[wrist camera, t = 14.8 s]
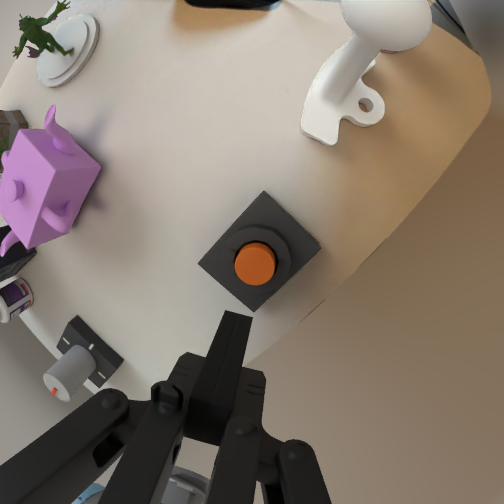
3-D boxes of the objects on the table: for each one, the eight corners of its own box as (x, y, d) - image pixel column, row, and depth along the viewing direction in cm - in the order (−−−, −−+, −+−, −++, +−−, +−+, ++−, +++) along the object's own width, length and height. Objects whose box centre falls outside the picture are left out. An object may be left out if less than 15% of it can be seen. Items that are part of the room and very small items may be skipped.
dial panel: (125, 358, 38) (117, 368, 35) (104, 381, 40) (97, 390, 38) (78, 312, 37) (68, 320, 34) (63, 341, 39) (54, 349, 37)
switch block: (255, 303, 33) (251, 321, 29) (202, 257, 32) (192, 269, 28) (319, 242, 30) (323, 253, 26) (263, 190, 29) (260, 193, 25)
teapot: (113, 236, 32) (56, 264, 22) (46, 237, 34) (-7, 259, 23) (108, 114, 28) (46, 102, 18) (39, 135, 29) (-17, 136, 19)
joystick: (333, 45, 23) (382, -79, 4) (394, 80, 24) (505, 3, 5) (289, 127, 27) (299, 49, 8) (355, 162, 27) (471, 160, 8)
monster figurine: (91, 2, 23) (50, -23, 13) (106, 50, 25) (57, 26, 16) (36, 51, 25) (-7, 39, 16) (46, 103, 28) (-6, 97, 18)
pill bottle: (13, 276, 37) (-23, 296, 28) (29, 279, 37) (-10, 302, 27) (20, 303, 39) (-14, 326, 29) (36, 308, 38) (1, 333, 29)
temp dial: (76, 339, 35) (45, 369, 27) (100, 362, 36) (72, 396, 28) (68, 353, 37) (39, 382, 29) (90, 375, 37) (64, 406, 29)
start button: (257, 285, 28) (255, 292, 26) (230, 261, 28) (226, 267, 26) (283, 260, 27) (283, 266, 25) (255, 234, 27) (253, 239, 25)
